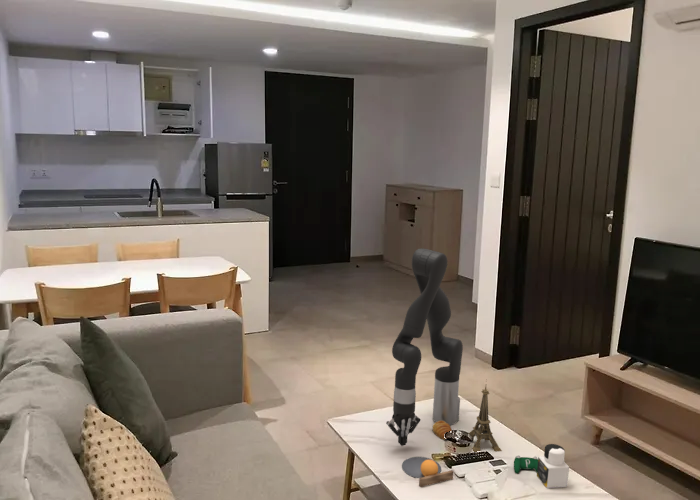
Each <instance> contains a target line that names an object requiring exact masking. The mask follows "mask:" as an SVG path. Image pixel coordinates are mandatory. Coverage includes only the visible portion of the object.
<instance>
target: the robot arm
mask: <svg viewBox="0 0 700 500" xmlns="http://www.w3.org/2000/svg"><path fill="white" fill-rule="evenodd" d="M447 267H448V257H447V255H446V254H445V253H443V252H439V251H435V250H431V249H428V248H417V249H416V250H415V251H414V253H413V254H412V257H411V269H412V273H413V274H414V275H413V276H414V278H415V281H416V283H417V286H418V289H419V291H420V295H418V296H417V298H416V299H414V301H413V302H412V303H411V305H409V307H408V309H407V311H406V314H405V317H404V322H403V325H402V327H401V330H400V332H399V333H398V335H397V337H396V338H395V340H394V342H393V344H392V349H391V355H392V357H393V359H395V360H396V361H398V362H400V363H402V364H403V367H400V368H398V369H396V371H395V374H394V375H395V376H394V377H395V379H394V390H393V403H392V405H393V406H392V407H393V409H392V411H393V412H392V413H393V414H392V416H391V419H390V420H387V421H386V426H388V428H389V429H390V430H391V431H392V433H393V434H394V435H396V437H398V438H397V441H398V444H399V445H400V446H401V447H404V446H407V444H408V435H409V434H412V433H414V431H415V429H416V428H417V427H418V425H419V424H420V422H421V418H420V417H419V416H417V415H416V413H415V411H416V394H417V393H416V381H417V379H416V377H417V373H418V371H419V368H420V365H421V362H422V351H421V350H420V348H419V347H418V346H417V345H414V344H412V341H413V340H414V339H419V338H421V337H422V336H423V333H424V330H425V326H426V323H427V325H428V330H429V338H430V347H431V353H432V356H433V357H434V358H435V360H438V361H441V362H442V361H443V362H447V363H449V364H448V365H447V366H440V367H438V368H437V369H436V370H435V372H434V388H433V389H434V390H433V403H432V405H433V406H432V407H433V408H432V420H433V422H434V423H436V422H438V421H445V422H446V423H448V424H449V425H450V426H451V425H454V424H456V423H457V422H459V421H460V410H461V409H460V405H461V398H460V397H459V387H460V374H461V369H462V368H461V367H462V361H463V360H462V359H463V358H462V357H463V351H464V347H463V343H462V342H463V341H462V340H460V339H458V338H453V337H450V336H444V334H443V329H444V328H445V327H446V325H447V324H448V323H449V321H450V319H451V316H452V310H451V306H450V301H449V298H448V297H447V294H446V293H445V292H444V290H443V288H441V287H440V286H441V284H442V281H443V279H444V277H445V275H446V272H447ZM395 425H396V427H395Z"/></svg>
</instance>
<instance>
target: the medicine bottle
mask: <svg viewBox="0 0 700 500" xmlns="http://www.w3.org/2000/svg"><path fill="white" fill-rule="evenodd" d="M565 454H566V450H565V449H564V447H563V446H561V445H559V444H555V443H549V444H546V445H545V447H544V454H543V455H539V456H538V457H537V459H538V467H537V472H536V477H537V478H538V479H539V480H540V482H541V483H542V484H543V485H544V487H545V488H546V489H553V488H554V489H555V488H567V487H568V482H569V473H570V472H569V471H570V466H569V465H568V464H567V463H566V462H565V456H566V455H565Z"/></svg>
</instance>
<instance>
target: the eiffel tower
mask: <svg viewBox="0 0 700 500" xmlns="http://www.w3.org/2000/svg"><path fill="white" fill-rule="evenodd" d="M485 381H488V380H487V379H486V380H485ZM481 393H482V398H481V403H480V409H479V413H478V416H476V420H477V421H476V423H475V425H474V427H472V430H471V431H469V432H468V434H470V435H471V436H472V437H473V438H475V437H476V441H475V443H474V444H473V446H472V448H471V449H473V451H474V452H477V451H481V443H482V441H483V440H484V441H485V442H486V441H489V442H490V444H491V447H490V448H491V449H492V450H493V452H495V453H496V452H502V451H503V450H502V449H501V447H500V446H499V445H498V443H497V441H496V439H495V437H494V436H493V432H492V431H491V430H492V429H491V427H490V424H491V420H490V419H489V402H488V401H489V399H488V395H490V390H488V389H487V385H485V388H483V389H482V391H481ZM481 452H482V451H481Z"/></svg>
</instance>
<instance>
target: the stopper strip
mask: <svg viewBox="0 0 700 500" xmlns="http://www.w3.org/2000/svg"><path fill="white" fill-rule="evenodd" d="M418 479H419V480H418V481H419V484H418V486H419V487H420V488H423V487H427V486H430V485H435V484H438V483H443V482H446V480H447V481H450V479H451V480H453V479H454V471H453V470H451V469H450V470H447V471H441V473H438V474H434V475H430V476H426V477H422V478H418Z"/></svg>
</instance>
